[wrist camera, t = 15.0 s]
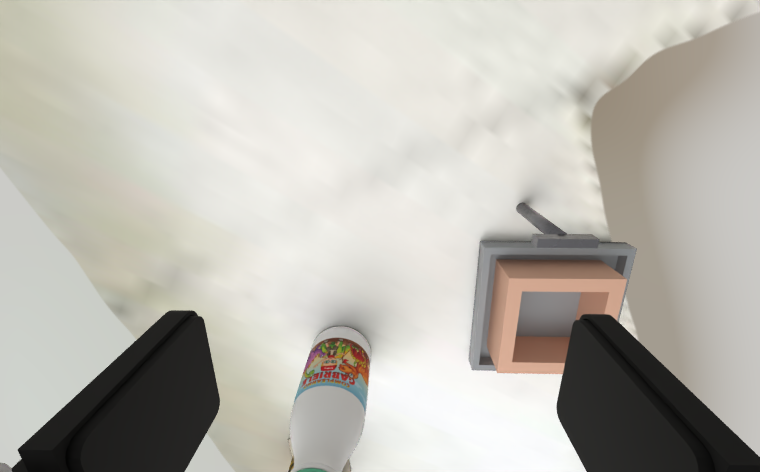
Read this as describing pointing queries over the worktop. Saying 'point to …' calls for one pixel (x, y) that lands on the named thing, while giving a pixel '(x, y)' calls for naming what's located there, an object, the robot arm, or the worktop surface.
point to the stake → (554, 232)
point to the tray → (537, 309)
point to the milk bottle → (330, 401)
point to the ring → (515, 276)
